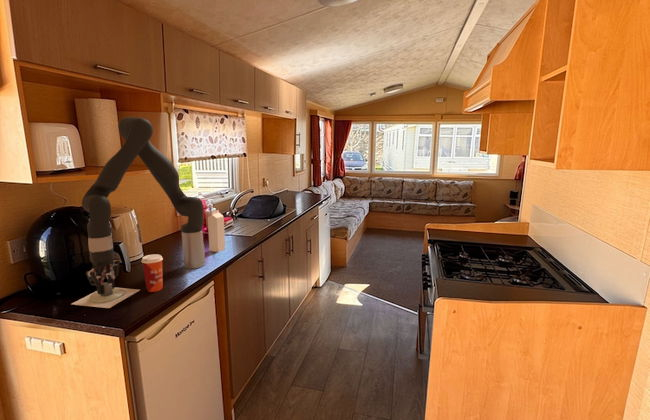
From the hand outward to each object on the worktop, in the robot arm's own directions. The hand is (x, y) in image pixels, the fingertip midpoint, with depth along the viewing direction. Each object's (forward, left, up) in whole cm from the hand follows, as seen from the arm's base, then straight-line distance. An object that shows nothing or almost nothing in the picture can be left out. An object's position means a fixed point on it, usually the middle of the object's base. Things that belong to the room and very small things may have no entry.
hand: (106, 291), depth 133 cm
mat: (0, 0, -3) cm, 3 cm away
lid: (0, 0, -2) cm, 2 cm away
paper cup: (-10, +13, -3) cm, 17 cm away
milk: (-64, +12, -3) cm, 65 cm away
